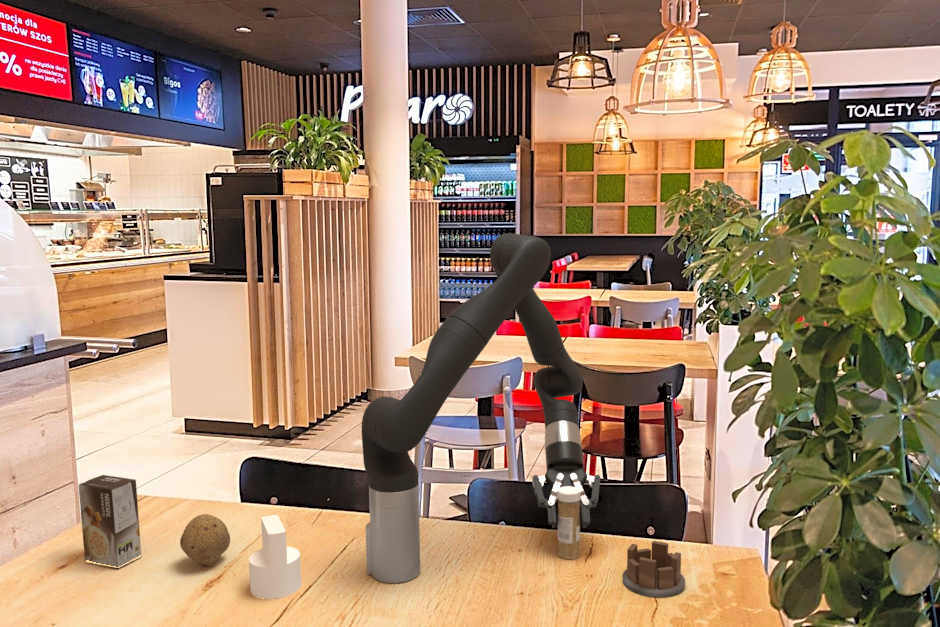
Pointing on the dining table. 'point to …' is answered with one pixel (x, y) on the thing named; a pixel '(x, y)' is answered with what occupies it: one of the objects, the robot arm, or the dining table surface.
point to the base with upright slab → (274, 563)
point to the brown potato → (205, 539)
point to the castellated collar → (654, 571)
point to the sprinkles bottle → (568, 522)
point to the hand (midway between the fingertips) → (569, 526)
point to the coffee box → (110, 520)
